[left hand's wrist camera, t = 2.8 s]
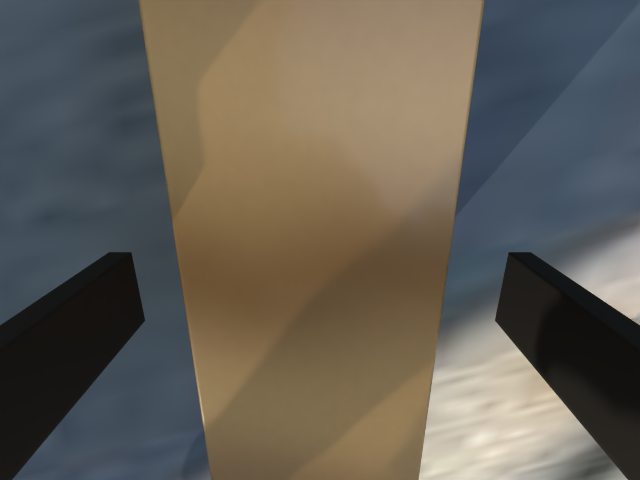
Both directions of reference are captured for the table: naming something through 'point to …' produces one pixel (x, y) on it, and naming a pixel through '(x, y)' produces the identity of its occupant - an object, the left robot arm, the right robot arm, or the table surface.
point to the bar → (313, 219)
